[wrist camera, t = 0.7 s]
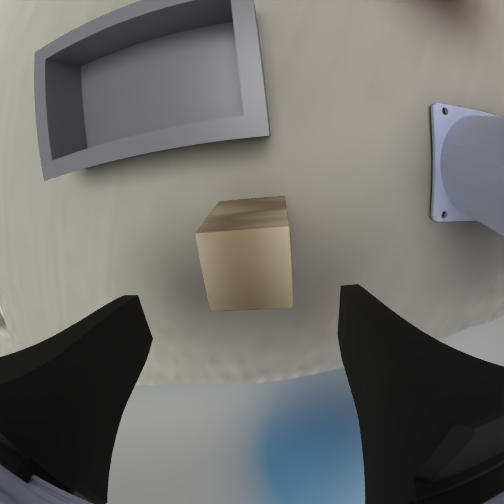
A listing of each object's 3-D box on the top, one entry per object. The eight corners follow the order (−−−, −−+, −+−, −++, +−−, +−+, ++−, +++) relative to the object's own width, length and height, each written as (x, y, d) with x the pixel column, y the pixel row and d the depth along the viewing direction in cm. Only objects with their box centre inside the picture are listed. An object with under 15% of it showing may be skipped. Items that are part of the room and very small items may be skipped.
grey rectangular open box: (255, 9, 13) (249, -24, 9) (270, 135, 16) (269, 135, 12) (75, 60, 14) (34, 52, 10) (84, 168, 17) (44, 180, 13)
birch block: (284, 195, 17) (288, 226, 12) (288, 255, 19) (293, 307, 13) (219, 201, 18) (195, 233, 12) (227, 259, 19) (210, 311, 14)
